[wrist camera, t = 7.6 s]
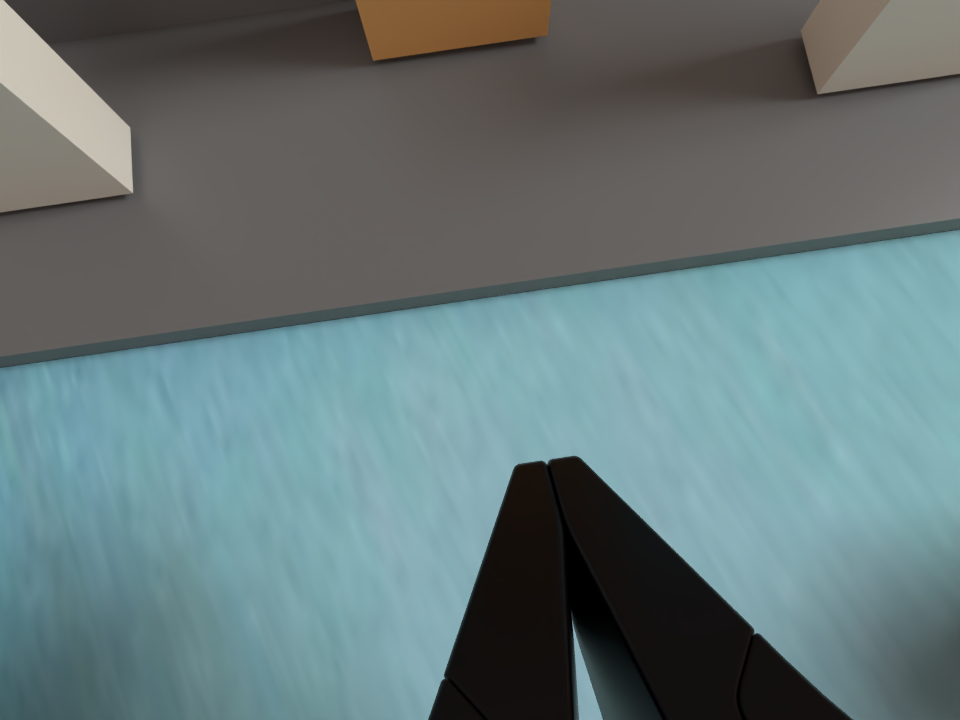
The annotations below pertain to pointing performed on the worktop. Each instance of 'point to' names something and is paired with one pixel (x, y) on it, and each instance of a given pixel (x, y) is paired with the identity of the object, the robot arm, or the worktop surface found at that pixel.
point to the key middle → (448, 24)
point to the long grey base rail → (449, 163)
